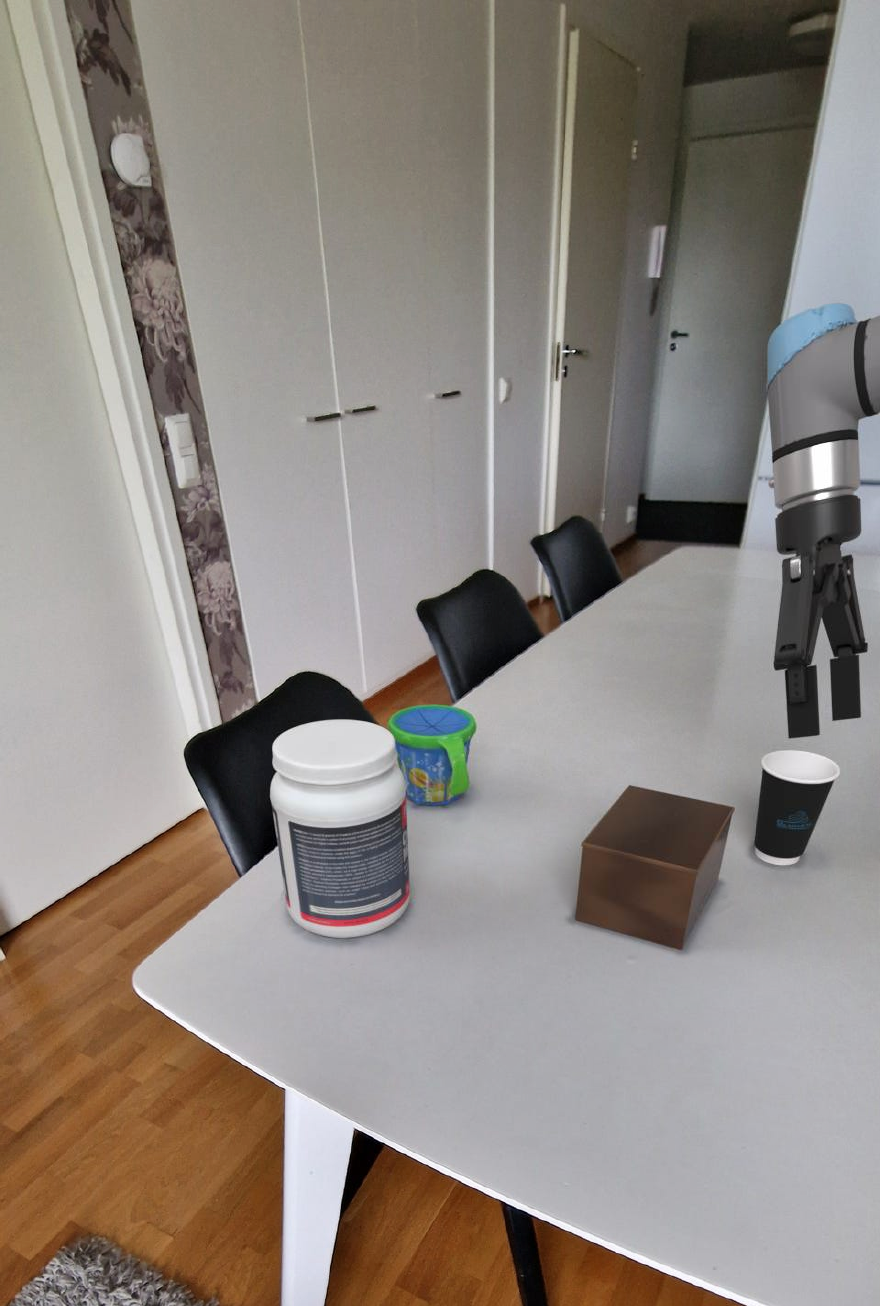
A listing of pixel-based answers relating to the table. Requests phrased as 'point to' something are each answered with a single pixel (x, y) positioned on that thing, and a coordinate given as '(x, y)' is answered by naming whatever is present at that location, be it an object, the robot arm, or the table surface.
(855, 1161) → the table surface
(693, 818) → the brown box
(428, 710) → the snack cup
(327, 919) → the supplement tub
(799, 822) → the dixie cup
